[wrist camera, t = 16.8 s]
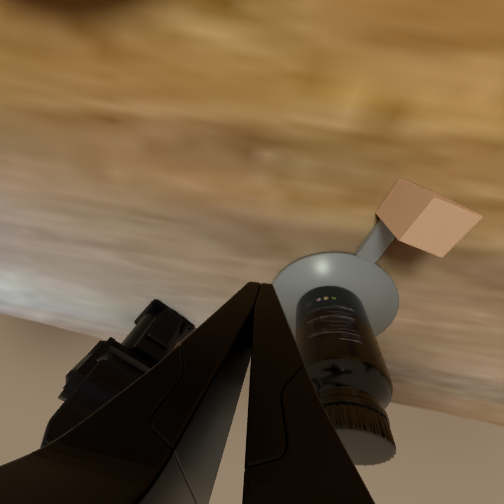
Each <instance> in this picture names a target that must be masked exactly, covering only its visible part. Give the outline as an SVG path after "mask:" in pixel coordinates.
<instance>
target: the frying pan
mask: <svg viewBox="0 0 504 504" xmlns="http://www.w3.org/2000/svg"><path fill="white" fill-rule="evenodd" d="M376 214H377V215H378V217H379V218H380V220H379V221H378V222H377V224H376V225H375V227H374V228H373V229H372V231H371V232H370V234H369V235H368V236H367V238H366V239H365V241H364V242H363V243H362V245H361V246H360V247H359V249H358V250H357V252H356V253H355V254H351V253H345V252H321V253H316V254H311V255H308V256H305V257H302V258H300V259H298V260H296V261H294V262H292V263H291V264H289V265H288V266H286V267H285V268H284V269H283V270H282V271H281V272H280V273H279V274H278V275H277V277H276V278H275V279H274V281H273V283H272V285H273V286H274V289H275V291H276V293H277V296H278V298H279V301H280V303H281V306H282V308H283V311H284V313H285V316H286V318H287V321H288V323H289V326H290V328H291V331H292V333H293V336H294V338H295V335H296V307H297V303H298V301H299V299H300V298H301V297H302V296H303V295H304V294H305V293H306V292H308V291H309V290H311V289H314V288H316V287H320V286H328V285H331V286H339V287H343V288H345V289H348V290H350V291H351V292H353V293H354V294H355V295H357V297H358V298H359V299H360V300H361V302H362V304H363V306H364V308H365V311H366V313H367V316H368V319H369V321H370V324H371V327H372V329H373V332H374V335H375V337H376V336H377V335H379V334H380V333H382V332H383V331H384V330H385V329H386V328H387V327H388V326H389V325H390V324H391V323H392V321H393V320H394V318H395V316H396V314H397V311H398V307H399V295H398V291H397V288H396V286H395V284H394V282H393V280H392V279H391V277H390V276H389V274H388V273H387V272H386V271H385V270H384V269H383V268H382V267H380V266H379V265H378V264H376V261H377V260H378V259H379V258H380V256H381V255H382V254H383V253H384V251H385V250H386V249H387V248H388V246H389V245H390V244H391V243H392V241H393V240H394V239H395V238H397V239H398V240H399V241H401V242H404V243H406V244H409V245H411V246H414V247H416V248H419V249H421V250H424V251H426V252H429V253H431V254H434V255H437V256H439V257H443V256H444V255H445V254H446V253H447V252H448V251H449V250H450V249H451V248H452V247H453V246H454V245H455V244H456V243H457V242H458V241H459V240H460V239H461V238H462V237H463V236H464V235H465V234H466V233H467V232H468V231H469V230H470V229H471V228H472V227H473V226H474V225H475V224H476V223H477V222H478V221H479V220H480V219H481V218H482V217H483V216H481V215H479V214H477V213H475V212H473V211H471V210H469V209H467V208H465V207H463V206H461V205H459V204H457V203H455V202H453V201H451V200H450V199H448V198H446V197H444V196H442V195H440V194H438V193H436V192H433V191H431V190H428V189H426V188H423V187H421V186H418V185H416V184H413V183H411V182H408V181H406V180H403V179H401V178H400V179H399V180H398V181H397V183H396V184H395V186H394V187H393V189H392V190H391V192H390V193H389V194H388V196H387V197H386V199H385V200H384V202H383V203H382V204H381V206H380V207H379V209H378V210H377V212H376Z"/></svg>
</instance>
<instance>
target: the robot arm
mask: <svg viewBox="0 0 504 504" xmlns="http://www.w3.org/2000/svg"><path fill="white" fill-rule="evenodd" d="M134 323H135V324H136V326H135V327H134V328H133V330H132V331H131V332H130V333H129V335H128V336H127V337H126V338H125V340H124V341H123V342H122V343H121V344H120V343H118V342H117V341H115V339H114V338H112V337H110V338H109V339H108V340H107V341H99V342H98V344H97V345H96V346H95V347H94V348H93V349H92V350H91V351H90V352H89V353H88V354H87V355H86V356H85V357H84V358H83V359H82V360H81V361H80V362H79V363H78V364H77V365H76V366H75V367H74V368H73V369H72V370H71V371H70V372H69V373H68V374H67V375H66V385H65V386H64V387H63V389H64V390H63V391H62V393H61V394H60V395H59V397H58V399H60V400H62V401H65V402H64V403H63V404H62V405H61V407H60V408H59V409H58V410H57V412H56V413H55V414H54V415H53V416H52V418H51V419H50V420H49V423H48V425H47V427H46V429H45V433H44V436H43V440H42V443H41V446H40V449H38V450H36V451H34V452H32V453H30V454H28V455H26V456H24V457H21V458H19V459H16V460H14V461H11V462H9V463H7V464H4V465H2V466H0V504H209V500H210V497H211V493H212V490H213V486H214V483H215V479H216V476H217V472H218V468H219V465H220V462H221V458H222V455H223V451H224V448H225V444H226V441H227V437H228V433H229V430H230V426H231V424H232V420H233V416H234V413H235V409H236V406H237V402H238V399H239V396H240V392H241V388H242V385H243V382H244V378H245V374H246V371H247V368H248V364H249V361H250V357H251V368H250V386H249V402H248V419H247V420H248V421H247V437H246V453H245V472H244V486H243V501H242V504H375V502H374V501H373V499H372V497H371V495H370V494H369V491H368V490H367V488H366V486H365V484H364V482H363V480H362V478H361V477H360V475H359V473H358V471H357V469H356V467H355V465H354V463H353V462H352V460H351V458H350V456H349V454H348V452H347V450H346V449H345V447H344V445H343V443H342V441H341V439H340V437H339V436H338V434H337V432H336V430H335V428H334V426H333V424H332V422H331V420H330V418H329V416H328V414H327V412H326V410H325V408H324V406H323V404H322V403H321V400H320V398H319V396H318V394H317V391H316V389H315V387H314V385H313V382H312V380H311V378H310V375H309V373H308V370H307V368H306V366H305V363H304V361H303V358H302V356H301V353H300V351H299V348H298V346H297V343H296V341H295V338H294V336H293V333H292V331H291V328H290V326H289V323H288V321H287V318H286V316H285V313H284V311H283V308H282V306H281V303H280V301H279V298H278V296H277V293H276V291H275V289H274V286H273V285H272V284H267V283H262V284H260V283H258V282H248V283H247V284H246V285H245V286H244V287H243V288H242V289H241V290H239V291H238V292H237V293H236V294H235V295H234V296H233V297H232V298H230V299H229V300H228V301H227V302H226V303H225V304H224V305H223V306H222V307H220V308H219V309H218V310H217V311H216V312H215V313H214V314H213V315H212V316H210V317H209V318H208V319H207V320H206V321H205V322H204V323H203V324H202V325H200V326H199V327H198V328H197V329H196V330H195V331H194V332H193V333H192V334H190V335H189V336H188V337H187V338H186V339H185V340H184V341H183V342H181V344H180V345H181V346H180V345H178V346H177V347H176V348H175V346H176V344H177V343H178V342H179V341H180V340H181V339H182V338H184V337H185V336H186V335H187V334H189V333H190V332H191V331H192V330H193V328H194V326H193V325H192V324H191V323H189V322H188V321H186V320H185V319H184V318H182V317H181V316H179V315H178V314H176V313H175V312H174V311H172V310H171V309H169V308H168V307H167V306H165V305H164V304H162V303H161V302H159V301H158V300H153V301H152V302H151V303H150V304H149V305H148V306H147V308H146V309H145V310H144V311H143V312H142V313H141V314H140V316H139V317H138V318H137V319H136V320H135V321H134ZM174 348H175V349H174Z"/></svg>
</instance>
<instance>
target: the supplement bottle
mask: <svg viewBox="0 0 504 504" xmlns="http://www.w3.org/2000/svg"><path fill="white" fill-rule="evenodd" d="M295 341H296V343H297V346H298V348H299V351H300V353H301V356H302V358H303V361H304V363H305V366H306V368H307V370H308V373H309V375H310V378H311V380H312V382H313V385H314V387H315V389H316V391H317V394H318V396H319V398H320V400H321V403H322V404H323V406H324V408H325V410H326V412H327V414H328V416H329V418H330V420H331V422H332V424H333V426H334V428H335V430H336V432H337V434H338V436H339V437H340V439H341V441H342V443H343V445H344V447H345V449H346V450H347V452H348V454H349V456H350V458H351V460H352V462H353V463H354V465H365V466H366V465H375V464H381V463H385V462H386V461H389V460H391V458H393V457H394V455H395V454H396V446H395V443H394V439H393V436H392V433H391V430H390V423H389V419H388V416H387V413H386V412H385V410H384V409H385V408H386V407H387V406H388V404H389V403H390V400H391V397H392V392H393V387H392V382H391V378H390V375H389V372H388V370H387V367H386V364H385V362H384V359H383V356H382V354H381V351H380V348H379V346H378V343H377V340H376V338H375V335H374V332H373V329H372V327H371V324H370V321H369V319H368V316H367V313H366V311H365V308H364V306H363V304H362V302H361V300H360V299H359V298H358V297H357V295H355V294H354V293H353V292H351V291H350V290H348V289H345V288H343V287H339V286H331V285H328V286H320V287H316V288H314V289H311V290H309V291H308V292H306V293H305V294H304V295H303V296H302V297H301V298H300V299H299V301H298V303H297V307H296V335H295Z"/></svg>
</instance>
